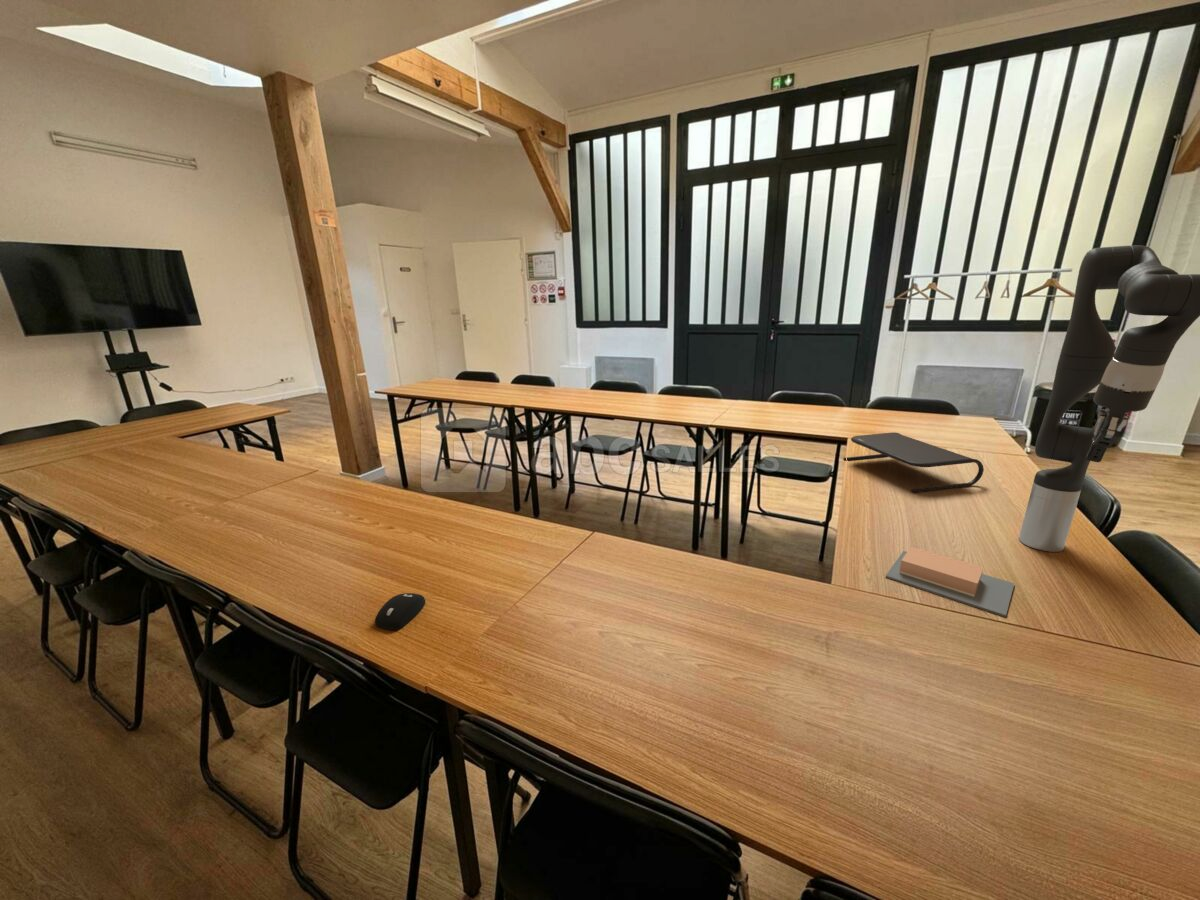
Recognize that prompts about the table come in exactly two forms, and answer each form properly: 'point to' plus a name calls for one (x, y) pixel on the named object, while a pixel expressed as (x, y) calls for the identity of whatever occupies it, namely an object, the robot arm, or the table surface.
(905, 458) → the monitor stand
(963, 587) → the peach rectangular block
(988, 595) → the mat
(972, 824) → the table surface
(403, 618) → the computer mouse
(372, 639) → the table surface
